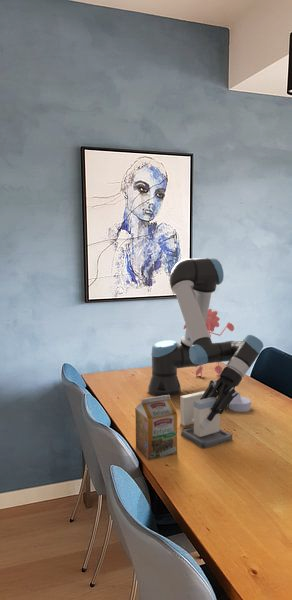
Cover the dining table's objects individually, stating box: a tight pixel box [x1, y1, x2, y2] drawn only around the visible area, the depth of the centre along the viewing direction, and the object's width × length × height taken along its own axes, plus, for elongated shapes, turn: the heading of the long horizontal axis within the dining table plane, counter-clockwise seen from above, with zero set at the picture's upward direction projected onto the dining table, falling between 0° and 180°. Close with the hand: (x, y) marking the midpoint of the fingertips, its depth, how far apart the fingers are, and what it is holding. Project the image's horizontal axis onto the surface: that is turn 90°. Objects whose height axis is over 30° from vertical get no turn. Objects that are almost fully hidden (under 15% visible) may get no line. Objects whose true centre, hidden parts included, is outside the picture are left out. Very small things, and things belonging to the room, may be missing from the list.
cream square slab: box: [179, 390, 206, 430], centre depth 182 cm, size 3×12×12 cm, turn 122°
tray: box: [180, 426, 233, 450], centre depth 170 cm, size 13×13×2 cm
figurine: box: [183, 308, 235, 379], centre depth 246 cm, size 15×26×35 cm, turn 96°
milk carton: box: [134, 395, 178, 461], centre depth 159 cm, size 11×10×19 cm
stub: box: [193, 397, 221, 437], centre depth 169 cm, size 4×9×12 cm, turn 122°
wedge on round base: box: [228, 392, 252, 413], centre depth 199 cm, size 9×7×13 cm
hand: (198, 424), depth 167 cm, fingers closed on stub, 3 cm apart
